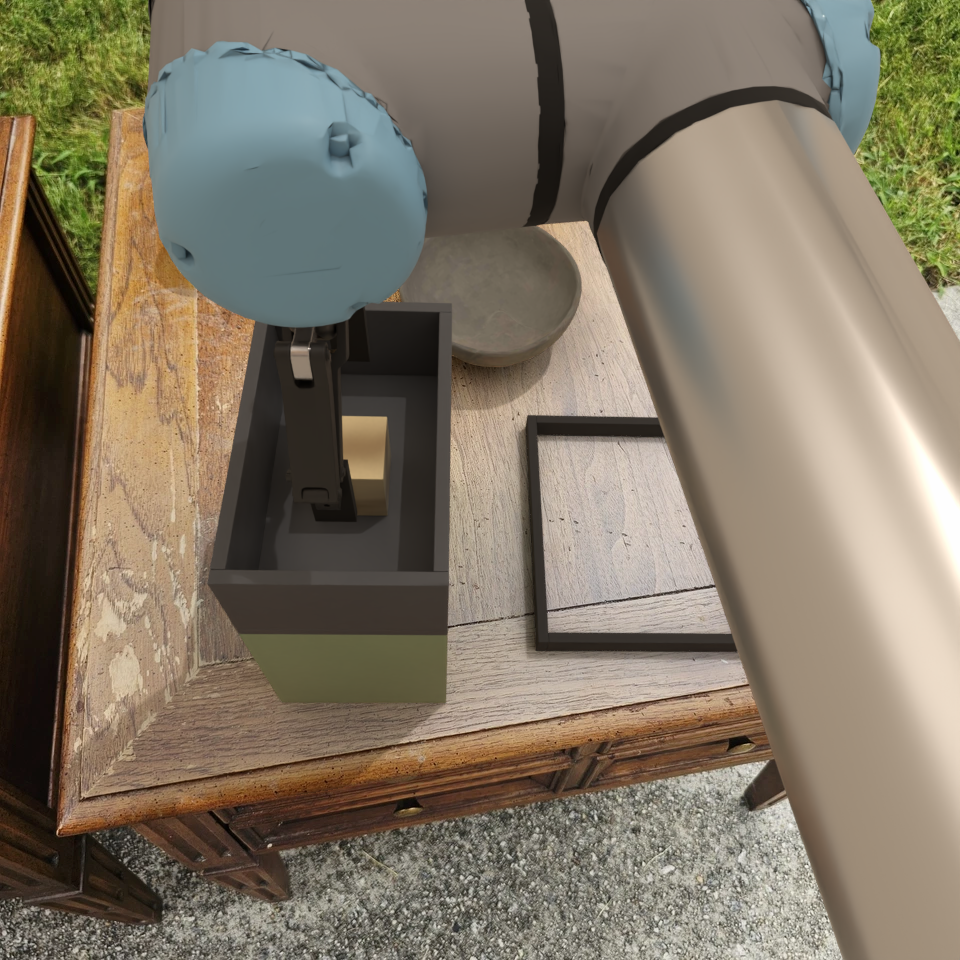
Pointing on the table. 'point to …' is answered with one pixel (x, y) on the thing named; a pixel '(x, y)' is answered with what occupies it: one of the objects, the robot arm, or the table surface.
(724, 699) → the table surface
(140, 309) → the table surface
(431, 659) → the stand
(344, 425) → the toy block
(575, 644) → the rim tray
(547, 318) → the bowl
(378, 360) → the bin
